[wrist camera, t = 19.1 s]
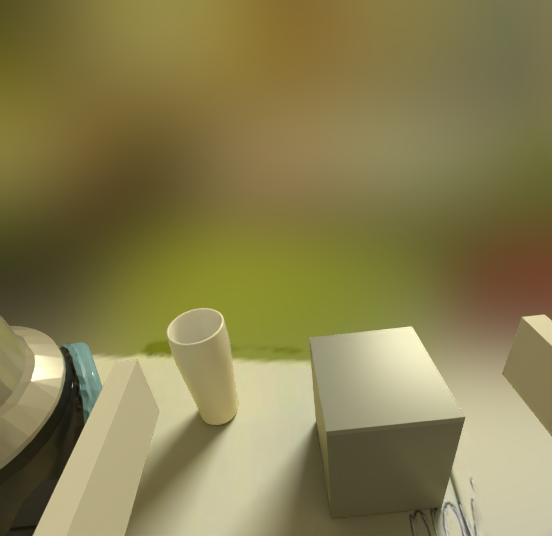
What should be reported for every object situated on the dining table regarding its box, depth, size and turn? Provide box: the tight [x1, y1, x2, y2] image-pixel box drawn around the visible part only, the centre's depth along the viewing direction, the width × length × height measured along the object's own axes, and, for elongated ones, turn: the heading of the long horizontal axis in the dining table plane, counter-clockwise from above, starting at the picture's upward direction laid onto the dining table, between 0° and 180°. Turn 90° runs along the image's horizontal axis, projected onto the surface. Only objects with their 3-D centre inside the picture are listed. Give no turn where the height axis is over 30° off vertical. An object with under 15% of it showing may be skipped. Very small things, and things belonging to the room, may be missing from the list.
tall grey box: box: [309, 327, 465, 518], centre depth 35 cm, size 11×11×14 cm
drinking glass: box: [167, 308, 239, 425], centre depth 43 cm, size 7×7×15 cm
